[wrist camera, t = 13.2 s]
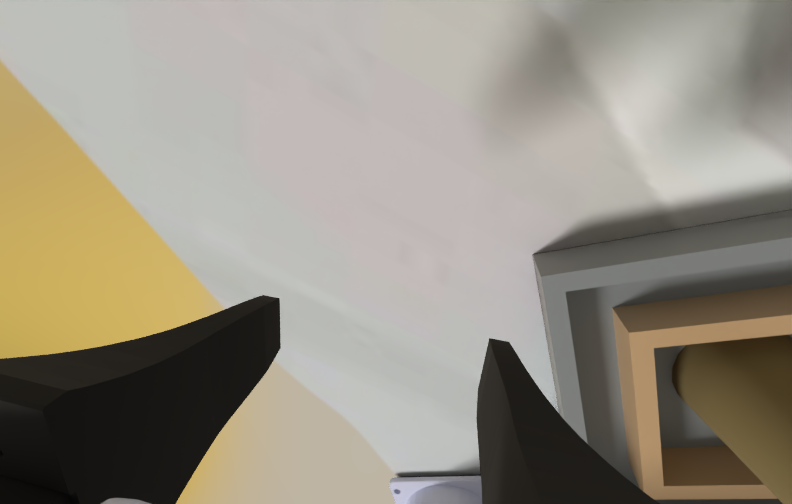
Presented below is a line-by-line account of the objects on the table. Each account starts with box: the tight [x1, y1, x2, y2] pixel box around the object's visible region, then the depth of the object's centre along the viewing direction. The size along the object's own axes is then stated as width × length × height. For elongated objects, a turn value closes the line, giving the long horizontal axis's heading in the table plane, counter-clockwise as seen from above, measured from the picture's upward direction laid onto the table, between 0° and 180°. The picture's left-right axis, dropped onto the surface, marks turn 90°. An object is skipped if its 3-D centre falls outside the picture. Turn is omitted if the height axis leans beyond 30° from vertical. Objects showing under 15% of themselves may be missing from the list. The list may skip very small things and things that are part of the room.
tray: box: [533, 210, 792, 504], centre depth 20 cm, size 18×18×3 cm
